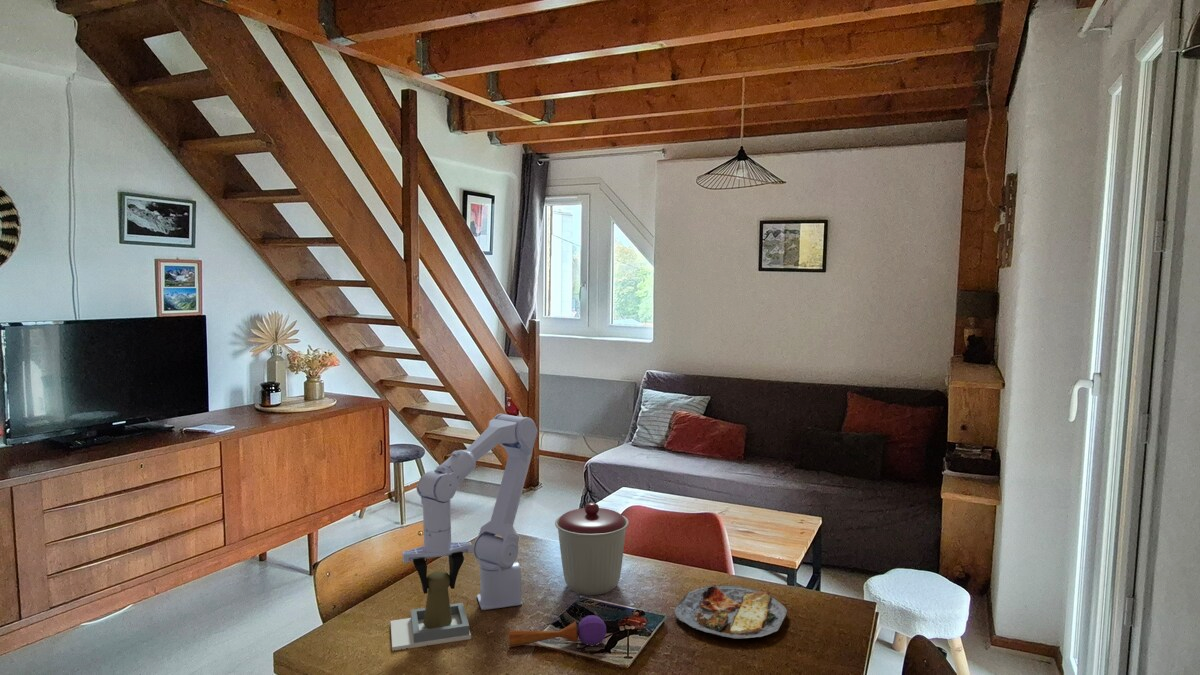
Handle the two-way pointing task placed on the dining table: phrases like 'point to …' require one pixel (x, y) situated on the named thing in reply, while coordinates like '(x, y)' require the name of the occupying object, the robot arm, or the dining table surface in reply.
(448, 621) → the olive knobbed tapered peg
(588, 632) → the kendama
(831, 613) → the dining table surface
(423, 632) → the socket board
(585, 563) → the canister
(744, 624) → the food plate
